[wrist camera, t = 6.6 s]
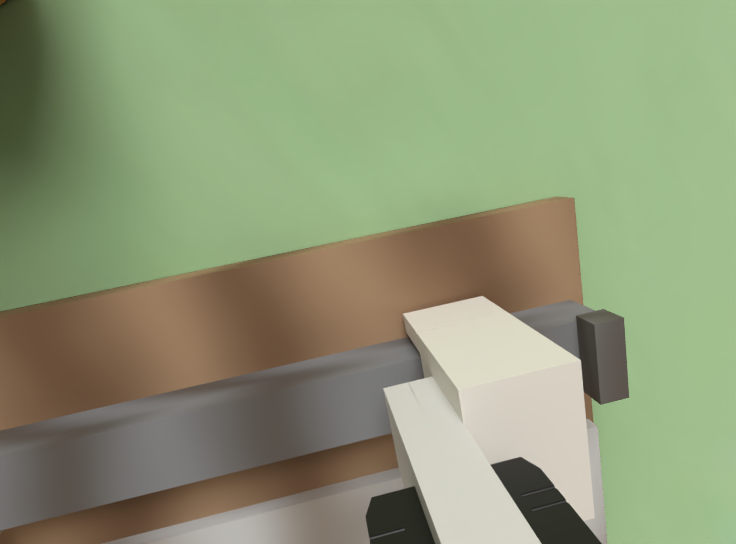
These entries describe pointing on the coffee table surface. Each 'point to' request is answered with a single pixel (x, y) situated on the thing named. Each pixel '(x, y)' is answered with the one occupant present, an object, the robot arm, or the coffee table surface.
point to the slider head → (509, 390)
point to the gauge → (266, 383)
